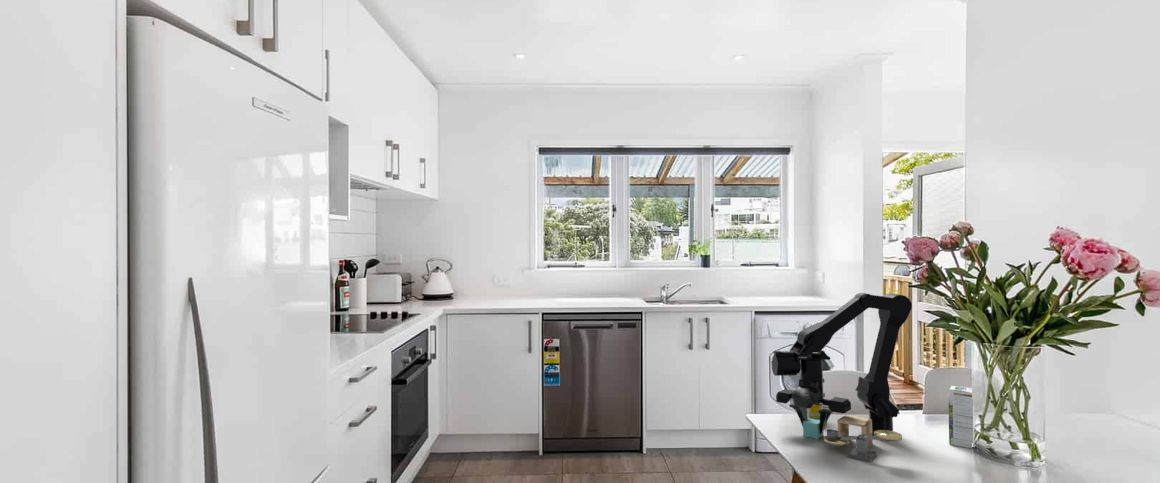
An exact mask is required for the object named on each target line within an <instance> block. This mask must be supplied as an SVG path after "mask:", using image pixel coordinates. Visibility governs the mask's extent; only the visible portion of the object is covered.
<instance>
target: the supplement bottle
mask: <svg viewBox="0 0 1160 483" xmlns="http://www.w3.org/2000/svg"><path fill="white" fill-rule="evenodd" d="M821 409H822V406H821V405H815V404H813V406H812V407H811V408H807V419H808V418H810V419H816V420H820V414H819V410H821Z"/></svg>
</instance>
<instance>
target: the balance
mask: <svg viewBox="0 0 1160 483" xmlns="http://www.w3.org/2000/svg"><path fill="white" fill-rule="evenodd" d="M902 439H903V434H901V433H899V432H898V431H897V432H896V431H894V430H893V431H889V430H877V431H874V436H865V435H864V434H862V433H860V434H858V435H849V436H838V429H833V428H829V429H826V435H825V436H824V437H823V441H824V442H825V443H826V444H829V445H832V446H833V445H834V446H848V445H850V443H851V441H852V440H853V441H855V447H854V448H853V449H851V450H849V452H848V453H846V455H847V458H851V459H853V460H854V459H856V460H860V461H864V462H868V463H870V461H872V460H874V458H875V457H876V456H877V454H878V452H877V451H875V450H870V449H869V450H868V448H867V440H873V441H878V440H879V441H880V440H881V441H885V440H886V441H894V442H895V441H901V440H902Z"/></svg>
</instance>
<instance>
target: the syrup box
mask: <svg viewBox="0 0 1160 483" xmlns="http://www.w3.org/2000/svg"><path fill="white" fill-rule="evenodd" d="M972 388H973V387H967V386H960V385H959V386H958V385H957V386H956V385H951V387H949V389H948V396H947V397H948V444H949V445H950V446H955V447H961V448H967V449H973V448H972V443H973V400H972Z"/></svg>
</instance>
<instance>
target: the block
mask: <svg viewBox="0 0 1160 483" xmlns="http://www.w3.org/2000/svg"><path fill="white" fill-rule="evenodd" d="M819 427H820V420H816V419H810V418H808V419H806V420H804V421H803V426H802V431H803V432H802V435H803V436H802V437H806V438H811V439H812V438H813V439H816V440H819V439H820V438H822V437H823V436H824V435H825V434H824V432H823V433H822V434H820V429H819Z"/></svg>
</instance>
